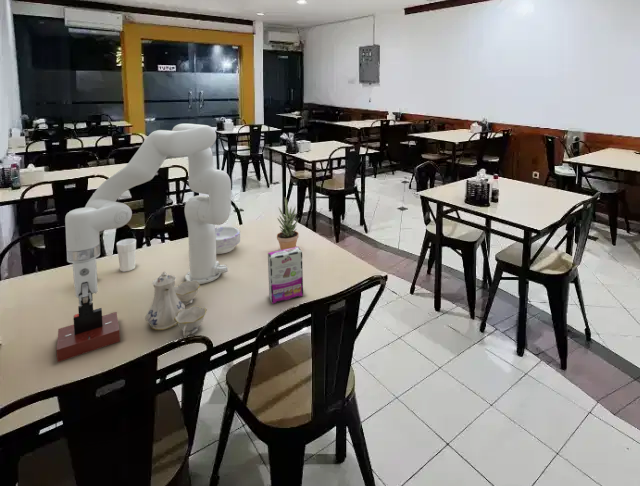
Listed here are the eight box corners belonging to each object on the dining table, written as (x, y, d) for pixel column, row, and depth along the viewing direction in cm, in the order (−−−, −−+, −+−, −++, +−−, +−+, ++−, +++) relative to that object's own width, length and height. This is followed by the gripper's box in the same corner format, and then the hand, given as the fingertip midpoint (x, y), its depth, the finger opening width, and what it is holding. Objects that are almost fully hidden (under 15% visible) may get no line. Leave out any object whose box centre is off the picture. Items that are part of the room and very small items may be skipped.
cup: (141, 264, 157) (140, 238, 156) (129, 272, 151) (128, 245, 150) (126, 264, 158) (124, 238, 157) (113, 271, 152) (112, 245, 151)
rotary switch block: (117, 322, 120) (116, 311, 120) (119, 341, 111) (119, 329, 111) (59, 340, 112) (58, 328, 111) (57, 362, 103) (56, 349, 102)
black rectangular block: (102, 323, 114) (101, 306, 113) (102, 326, 112) (101, 309, 112) (74, 332, 110) (73, 314, 109) (74, 335, 108) (73, 317, 108)
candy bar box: (299, 289, 140) (298, 245, 138) (303, 296, 135) (303, 251, 134) (268, 297, 135) (267, 251, 133) (271, 304, 130) (270, 257, 129)
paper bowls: (233, 257, 165) (232, 239, 164) (197, 256, 165) (197, 239, 164) (245, 242, 180) (245, 226, 179) (213, 242, 180) (212, 225, 179)
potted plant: (281, 244, 178) (281, 192, 176) (301, 246, 176) (301, 193, 174) (273, 254, 168) (272, 199, 166) (294, 255, 167) (293, 200, 164)
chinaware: (213, 338, 115) (217, 283, 115) (149, 355, 106) (153, 295, 105) (194, 295, 138) (198, 250, 138) (140, 306, 128) (144, 257, 128)
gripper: (101, 260, 104) (103, 320, 106) (98, 239, 118) (100, 293, 119) (65, 267, 100) (68, 330, 101) (67, 245, 114) (70, 301, 115)
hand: (86, 310), depth 110 cm, fingers open, 9 cm apart
